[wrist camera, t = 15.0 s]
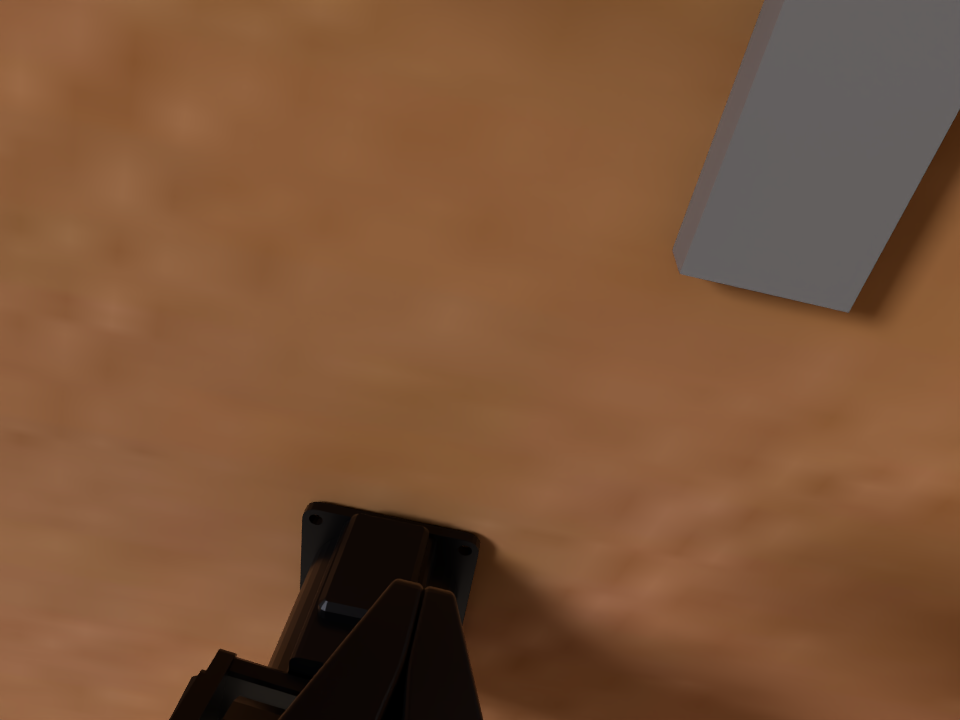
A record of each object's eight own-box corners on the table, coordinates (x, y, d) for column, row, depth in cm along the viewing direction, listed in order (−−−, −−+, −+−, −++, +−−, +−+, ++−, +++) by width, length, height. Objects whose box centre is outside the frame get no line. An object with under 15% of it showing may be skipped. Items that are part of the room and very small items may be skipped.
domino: (848, 312, 18) (1043, -46, 13) (679, 274, 18) (821, -97, 13) (824, 279, 19) (991, -47, 15) (670, 244, 19) (793, -93, 15)
